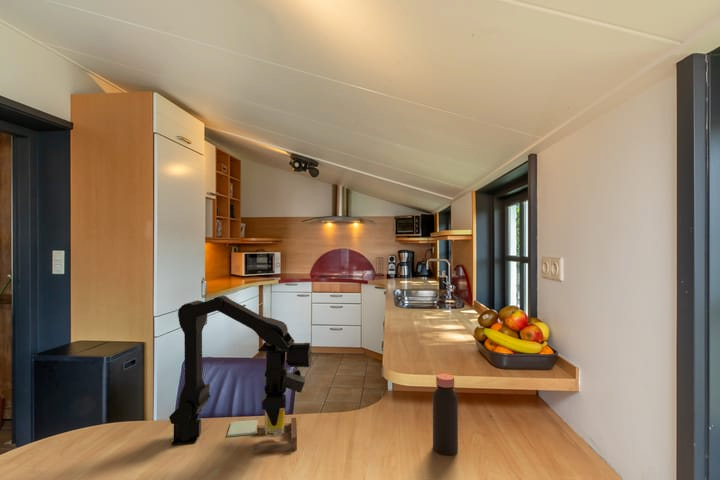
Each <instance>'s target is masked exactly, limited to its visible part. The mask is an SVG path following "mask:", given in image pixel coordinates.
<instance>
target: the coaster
mask: <svg viewBox="0 0 720 480" xmlns="http://www.w3.org/2000/svg"><path fill="white" fill-rule="evenodd" d="M258 421H259V420H258V419H252V420H250V419H249V420H241V421H231V423H230V426H229V429H228V432H227V436H226V437H227V438H228V437H240V436H251V435H257V426H258Z"/></svg>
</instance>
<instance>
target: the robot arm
mask: <svg viewBox="0 0 720 480" xmlns="http://www.w3.org/2000/svg"><path fill="white" fill-rule="evenodd" d="M214 312H215V313H216V312H218V313H221V314H223V315H224V316H227V317H228V318H231V319H232V320H234V321H236V322H237V323H240V324H242V325H243V326H246V327H247V328H249V329H250V330H252V331H254V332H255V334H256V335H257V336H258V337H259V338H260V339H261V340H263V341H264V342H263V343H262V345H261V346H260V347H259V348H258V350H257V351H258V352H264V353H265V361H264V363H265V365H264V366H265V370H264V393H265V394H264V395H263V396H262V399H261V400H262V401H261V410H264V412H265V411H266V413H267V415H268V417H269V419H270V422H271V424H272V426H276V424H277V420H278V415H279V411H280V408H286V407H287V401H286V400H287V395H286V394H285V393H286V391H287V389H289V390H292V391H295V392H297V393H302V392H303V389H304V386H305V384H306V378H305V377H304V375H302V374H301V370H300V369H297V368H311V366H312V361H313V351H312V348H311V342H295V340H294V338H293V337H292V335H291V334H290V333H289V332H288V331H289V330H288V326H287V324H286V323H285V322H284V321H281V320H278V319H275V318H272V317H266V316H263V315H261V314H259V313H256V312H254V311H253V310H251V309H249V308H247V307H245V305H244V306H243V305H242V304H240V303H238V302H236V301H234V300H232V299H230V298H229V297H228V296H227V295H219V296H216V297H213V298H212V299H209V300H205V301H202V300H194V301H190V302H188V303H187V302H186V303H184V304H183V305H181V306H180V307H179V308H178V311H177V317H178V322H179V323H178V324H179V326H180V329H181V330H182V332H183V335H184V339H183V341H184V342H183V343H184V345H183V346H184V347H183V348H184V383H183V387H182V389H181V391H180V395H179V400H178V406H177V408H176V410H175V411H173V412H172V413H171V414H170V415H169V417H168V418H169V422H170V423H171V424H172V425H173V439H172V441H171V446H177V445H187V444H195V443H196V442H197V441H198V439H199V438H200V436H201V434H202V419H201V418H200V413H201V411H202V409H203V408H204V407H205V405H207V403H208V402H209V399H210V398H211V395H210V387H211V385H210V383H207V384H206V383H205V381H204V380H203V330H204V328H205V325H206V322H207V318H208V315H209V314H211V313H214ZM286 364H287V366H289V368H296V369H295V370H293V371H291V372H287V371H288V370H287V367H286Z"/></svg>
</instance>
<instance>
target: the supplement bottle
mask: <svg viewBox="0 0 720 480" xmlns="http://www.w3.org/2000/svg"><path fill="white" fill-rule="evenodd" d="M285 408H286V407H285ZM285 408H280V411H279V415H278V420H277V424H276V426H272V424H271V422H270V419H269V417H268V415H267V413H266V411H265V410H264V425H265V434H264V435H265V436H267V437H270V438H276V437H279V436H281V435H283V434H284V433H285V432H284V427H285V422H286V421H285V418H286V417H285V411H286V409H285Z"/></svg>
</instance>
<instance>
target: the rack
mask: <svg viewBox="0 0 720 480" xmlns="http://www.w3.org/2000/svg"><path fill="white" fill-rule="evenodd" d="M290 419H291V420H290V422H286V423H285V427H284V433H291V434H290V438H291V439H290V440H284V441H283V440H281V441H273V442H272V441H271V442H260V443H254V444H253V455H262V454H271V453H272V454H273V453H281V452H282V453H283V452H292V451H297V450H298V433H297V432H298V428H297V417H291V418H290ZM256 435H257V436H261V435H262V436H263V435H266V434H265V424H263V425H262V424H261V425H257V428H256Z"/></svg>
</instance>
